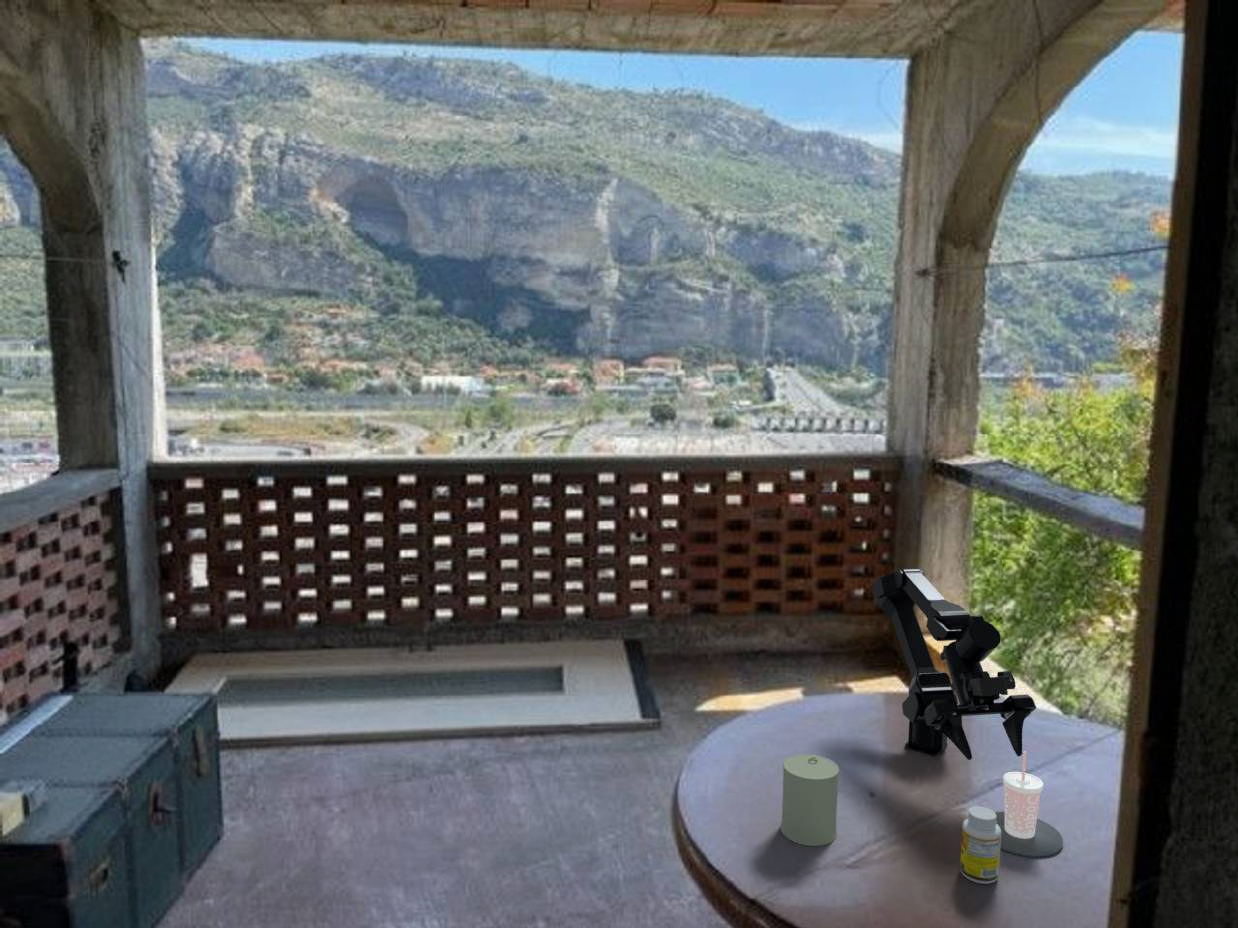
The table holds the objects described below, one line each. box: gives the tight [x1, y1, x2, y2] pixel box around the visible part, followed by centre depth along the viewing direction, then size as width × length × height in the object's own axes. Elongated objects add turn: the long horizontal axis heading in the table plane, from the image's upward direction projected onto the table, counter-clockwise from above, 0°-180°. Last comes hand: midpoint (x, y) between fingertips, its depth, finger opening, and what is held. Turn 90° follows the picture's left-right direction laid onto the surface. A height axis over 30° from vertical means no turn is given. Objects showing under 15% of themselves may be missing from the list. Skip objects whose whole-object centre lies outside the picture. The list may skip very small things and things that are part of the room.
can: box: [780, 753, 840, 847], centre depth 153 cm, size 9×9×12 cm
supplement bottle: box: [959, 806, 1001, 885], centre depth 141 cm, size 6×6×10 cm
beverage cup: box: [1002, 750, 1044, 839], centre depth 152 cm, size 6×6×14 cm
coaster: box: [994, 811, 1064, 858], centre depth 153 cm, size 13×13×1 cm
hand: (995, 757), depth 160 cm, fingers open, 9 cm apart
